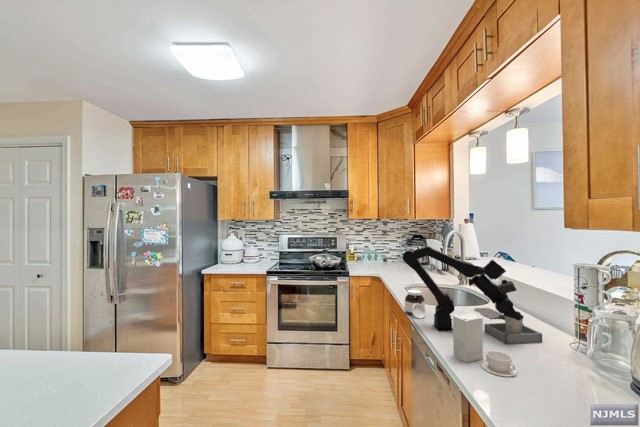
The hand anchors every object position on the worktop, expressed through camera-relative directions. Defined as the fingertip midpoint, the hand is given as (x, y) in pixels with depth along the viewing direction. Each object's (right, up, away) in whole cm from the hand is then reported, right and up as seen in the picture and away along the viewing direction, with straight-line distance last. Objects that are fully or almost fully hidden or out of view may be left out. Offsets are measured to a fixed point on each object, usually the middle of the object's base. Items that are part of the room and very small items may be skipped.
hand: (517, 316), depth 122 cm
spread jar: (-32, -10, +29) cm, 45 cm away
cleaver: (+7, -10, +25) cm, 28 cm away
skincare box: (-29, -9, -16) cm, 34 cm away
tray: (-1, -9, +1) cm, 9 cm away
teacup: (-22, -9, -24) cm, 34 cm away
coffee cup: (-1, -9, +1) cm, 9 cm away
